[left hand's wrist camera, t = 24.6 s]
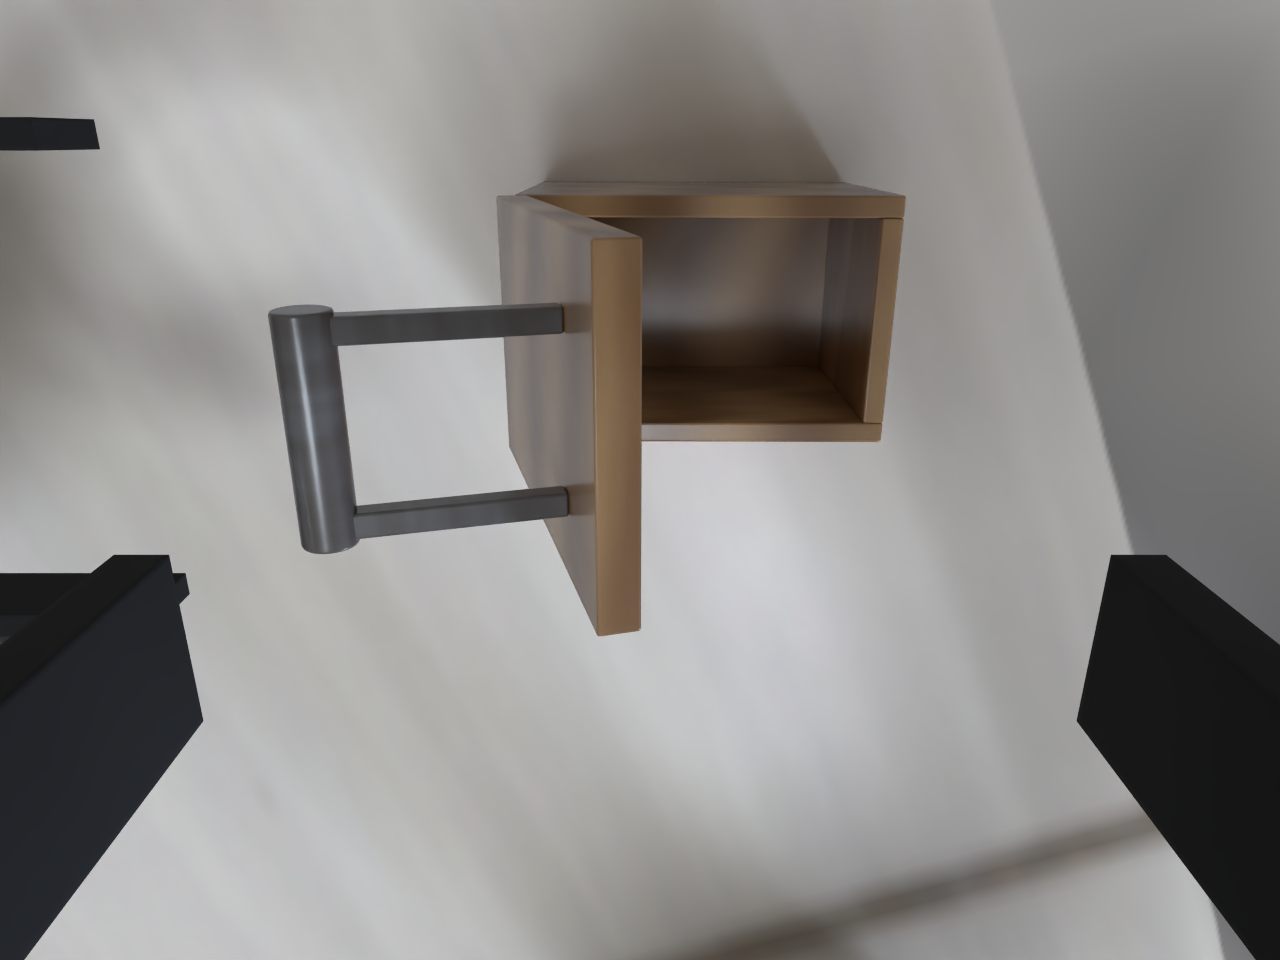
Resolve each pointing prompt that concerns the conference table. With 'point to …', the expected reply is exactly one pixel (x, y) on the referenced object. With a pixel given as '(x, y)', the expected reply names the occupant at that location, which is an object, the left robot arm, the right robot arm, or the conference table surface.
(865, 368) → the chest
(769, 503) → the conference table surface
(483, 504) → the lid
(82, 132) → the right robot arm
